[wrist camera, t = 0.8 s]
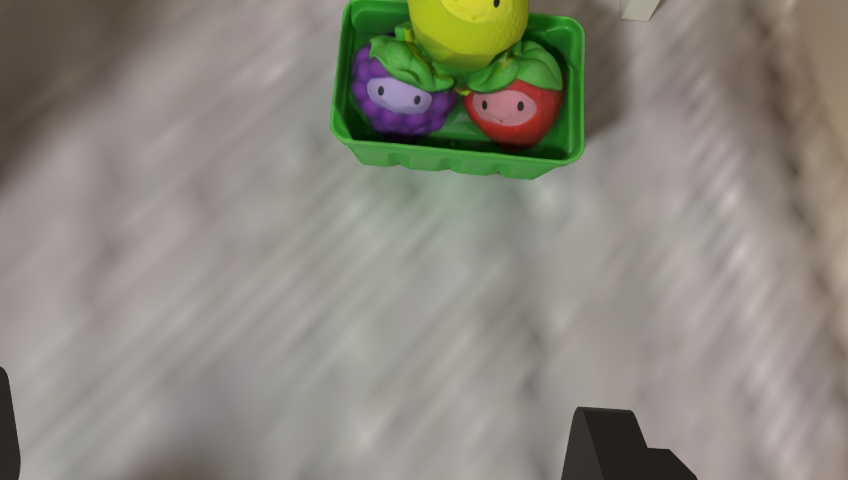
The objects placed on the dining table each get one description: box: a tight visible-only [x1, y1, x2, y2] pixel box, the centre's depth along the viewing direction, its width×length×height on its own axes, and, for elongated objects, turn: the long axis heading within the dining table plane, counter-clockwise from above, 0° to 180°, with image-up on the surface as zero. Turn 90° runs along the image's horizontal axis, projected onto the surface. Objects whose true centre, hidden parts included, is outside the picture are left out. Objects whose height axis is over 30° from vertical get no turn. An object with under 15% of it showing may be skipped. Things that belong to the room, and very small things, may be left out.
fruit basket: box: [330, 0, 585, 180], centre depth 37 cm, size 11×9×11 cm
